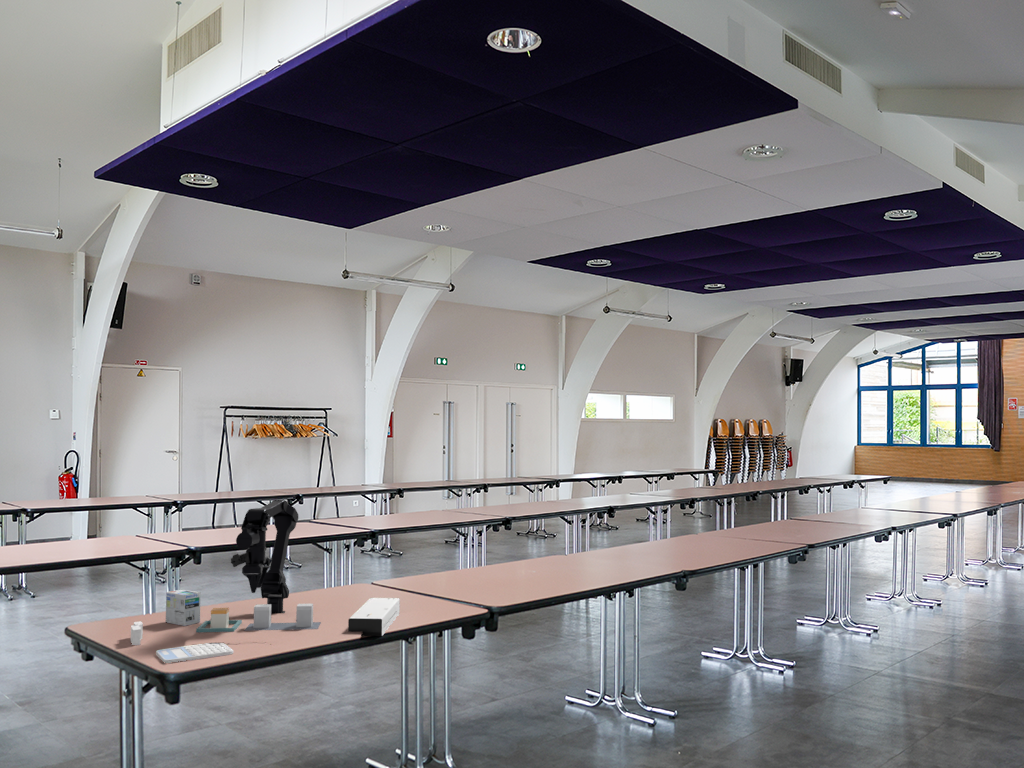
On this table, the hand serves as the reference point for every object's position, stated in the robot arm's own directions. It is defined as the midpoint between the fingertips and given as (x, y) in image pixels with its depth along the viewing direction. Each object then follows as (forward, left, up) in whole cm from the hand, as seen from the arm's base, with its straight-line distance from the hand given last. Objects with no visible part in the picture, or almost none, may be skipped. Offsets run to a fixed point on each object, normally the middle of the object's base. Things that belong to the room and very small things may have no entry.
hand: (255, 590), depth 289 cm
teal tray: (+9, -10, -12) cm, 18 cm away
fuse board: (+9, +11, -12) cm, 19 cm away
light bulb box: (-6, -26, -12) cm, 29 cm away
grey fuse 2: (+9, +18, -10) cm, 23 cm away
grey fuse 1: (+9, +4, -10) cm, 14 cm away
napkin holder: (+18, -33, -13) cm, 40 cm away
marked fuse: (+9, -10, -11) cm, 18 cm away
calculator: (+36, -11, -13) cm, 40 cm away
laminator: (+2, +41, -13) cm, 43 cm away
